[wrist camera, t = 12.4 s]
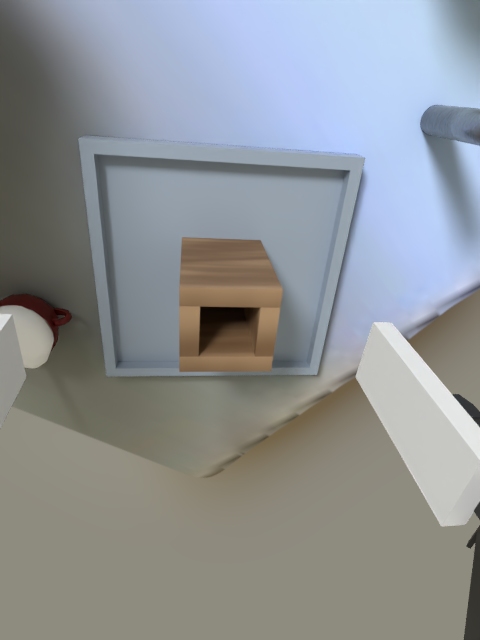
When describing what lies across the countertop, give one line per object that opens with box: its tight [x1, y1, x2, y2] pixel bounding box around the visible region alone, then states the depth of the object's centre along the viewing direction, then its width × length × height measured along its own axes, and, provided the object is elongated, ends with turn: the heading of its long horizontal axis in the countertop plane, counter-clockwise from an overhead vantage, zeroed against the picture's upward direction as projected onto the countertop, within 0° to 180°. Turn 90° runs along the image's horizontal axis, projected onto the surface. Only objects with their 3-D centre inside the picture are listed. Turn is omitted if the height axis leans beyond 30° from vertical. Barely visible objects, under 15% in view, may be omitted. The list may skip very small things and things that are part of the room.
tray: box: [78, 135, 365, 377], centre depth 37 cm, size 22×22×2 cm
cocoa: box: [0, 294, 72, 369], centre depth 33 cm, size 10×6×12 cm, turn 80°
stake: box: [421, 105, 480, 146], centre depth 28 cm, size 2×2×12 cm
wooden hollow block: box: [179, 237, 283, 372], centre depth 33 cm, size 9×7×10 cm
